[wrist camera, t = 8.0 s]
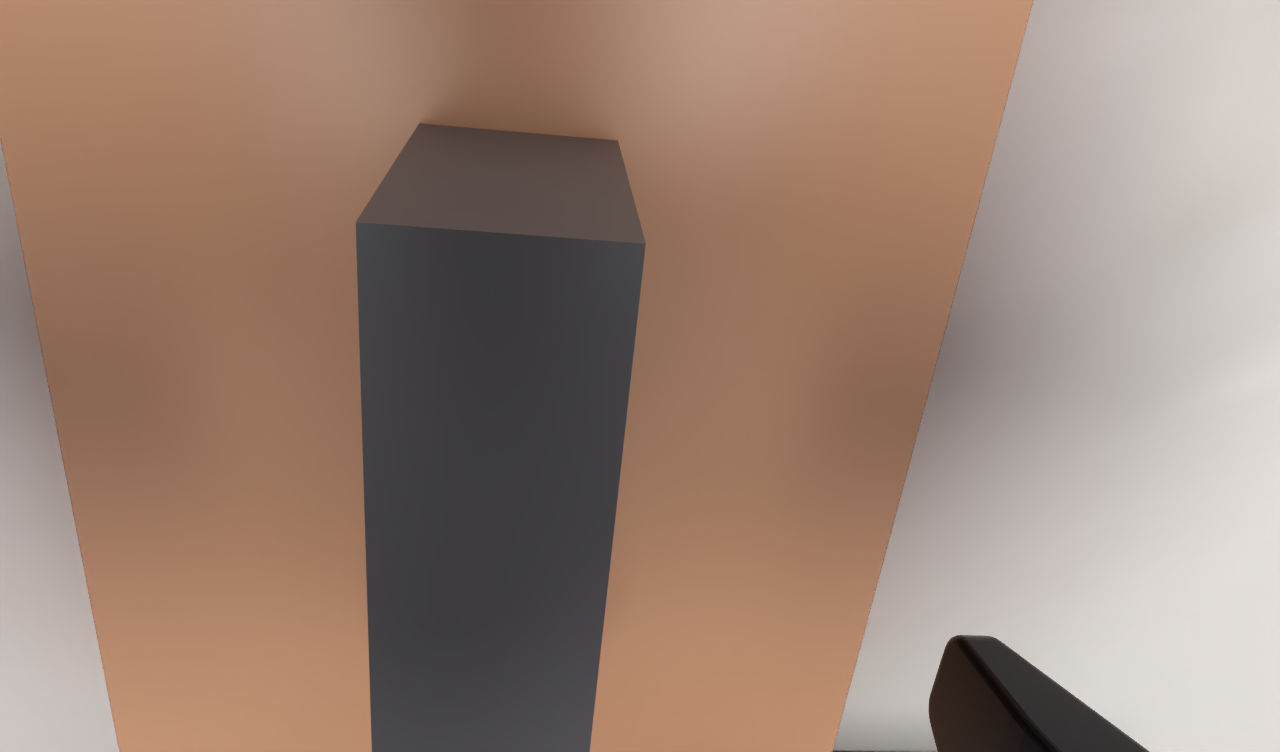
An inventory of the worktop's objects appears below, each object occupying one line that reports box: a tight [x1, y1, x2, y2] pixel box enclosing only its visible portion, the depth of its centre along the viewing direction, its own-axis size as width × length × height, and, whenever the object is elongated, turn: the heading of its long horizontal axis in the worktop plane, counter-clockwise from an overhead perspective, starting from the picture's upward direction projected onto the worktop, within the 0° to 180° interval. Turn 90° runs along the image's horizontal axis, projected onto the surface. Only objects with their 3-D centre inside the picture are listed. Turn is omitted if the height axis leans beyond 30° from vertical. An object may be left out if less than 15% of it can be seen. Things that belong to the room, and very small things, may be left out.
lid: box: [0, 0, 1033, 752], centre depth 12 cm, size 14×12×6 cm
